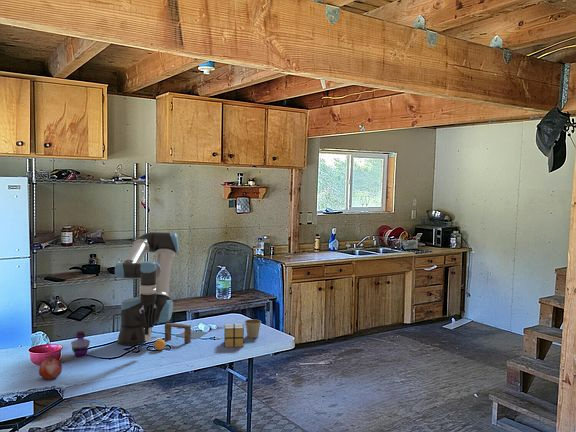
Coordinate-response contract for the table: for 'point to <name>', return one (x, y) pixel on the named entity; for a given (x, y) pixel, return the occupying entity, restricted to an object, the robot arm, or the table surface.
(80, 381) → the table surface
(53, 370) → the fruit
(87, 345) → the potion bottle
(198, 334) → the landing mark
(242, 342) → the puzzle cube
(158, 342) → the ball
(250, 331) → the flower pot
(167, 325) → the bridge
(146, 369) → the table surface
